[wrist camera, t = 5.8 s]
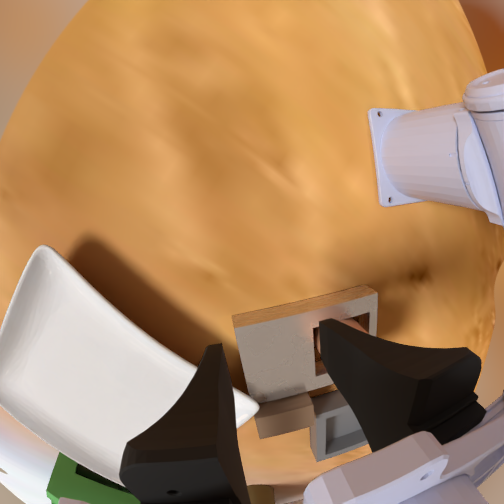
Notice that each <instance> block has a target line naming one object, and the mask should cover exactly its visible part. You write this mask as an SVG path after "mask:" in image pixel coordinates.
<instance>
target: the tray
mask: <svg viewBox="0 0 504 504" xmlns="http://www.w3.org/2000/svg"><path fill="white" fill-rule="evenodd" d="M310 399H311V401H312V403H313V406H314V426H311V427H310V446H311V449H312V452H313V454H314V457H315V459H316V461H317V462H319V461H322V460H325V459H328V458H331V457H334V456H337V455H340V454H343V453H345V452H348V451H351V450H353V449H356V448H359V447H361V446H364V445H366V444H369V443H368V441H367V439H366V437H365V435H364V432H363V430H362V428H361V426H360V424H359V422H358V420H357V418H356V416H355V414H354V412H353V411H352V409H351V407H350V406H349V404H348V403H347V402H346V400H345V399H344V397H343V396H342V394H341V393H340V391H339V390H336V391H333V392H329V393H326V394H323V395H320V396H316V397H313V398H310Z"/></svg>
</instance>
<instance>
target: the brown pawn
mask: <svg viewBox="0 0 504 504" xmlns="http://www.w3.org/2000/svg"><path fill="white" fill-rule="evenodd" d="M247 489H248V493H249V498H250V502H251V504H275V500H274V490H273V488H272V487H270V486H267V485H250V486H247Z"/></svg>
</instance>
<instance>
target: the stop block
mask: <svg viewBox="0 0 504 504" xmlns="http://www.w3.org/2000/svg"><path fill="white" fill-rule="evenodd" d="M259 406H260V408H259V410H258V412H257V413H256V414H255V415H254V417H255V421H256V425H257V429H258V433H259V437H260V439H263V438H268V437H272V436H277V435H281V434H285V433H289V432H293V431H296V430H300V429H304V428H307V427H311V426H314V406H313V403H312V401H311V399H310V396H309V394H308V392H304V393H300V394H296V395H293V396H289V397H285V398H281V399H277V400H272V401H268V402H264V403H259Z"/></svg>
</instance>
